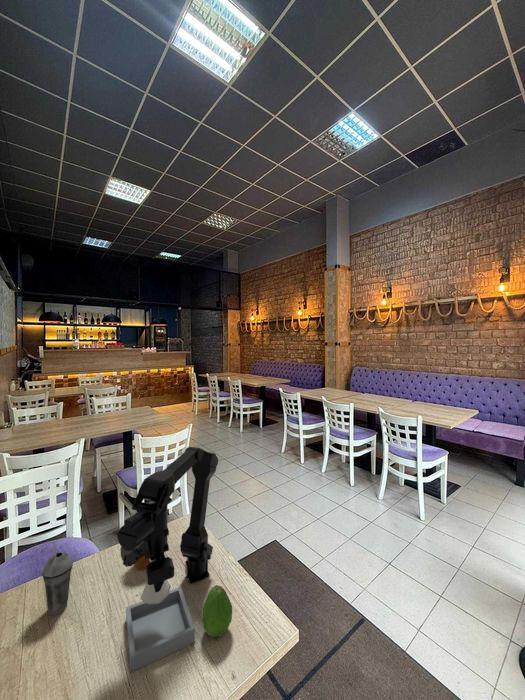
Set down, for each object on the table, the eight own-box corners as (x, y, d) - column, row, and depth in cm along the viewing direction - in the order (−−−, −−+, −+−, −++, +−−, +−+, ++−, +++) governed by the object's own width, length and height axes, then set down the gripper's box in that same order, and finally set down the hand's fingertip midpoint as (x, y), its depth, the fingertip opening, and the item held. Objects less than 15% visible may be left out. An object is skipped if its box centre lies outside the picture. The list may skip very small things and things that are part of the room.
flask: (160, 608, 74) (160, 569, 74) (135, 602, 76) (135, 564, 76) (175, 585, 81) (175, 549, 81) (151, 580, 83) (151, 545, 83)
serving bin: (181, 598, 89) (181, 586, 89) (194, 642, 76) (194, 628, 75) (126, 619, 82) (126, 607, 82) (130, 672, 68) (130, 657, 68)
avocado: (202, 649, 74) (202, 602, 74) (201, 621, 81) (201, 578, 81) (234, 642, 75) (234, 596, 75) (230, 615, 83) (230, 573, 83)
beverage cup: (78, 603, 87) (78, 535, 86) (52, 624, 80) (52, 551, 80) (63, 594, 90) (63, 528, 89) (36, 613, 83) (36, 543, 83)
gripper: (121, 515, 83) (121, 570, 83) (124, 558, 66) (124, 626, 67) (162, 505, 88) (162, 557, 88) (174, 543, 72) (174, 606, 72)
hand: (156, 583), depth 79 cm, fingers closed on flask, 5 cm apart
